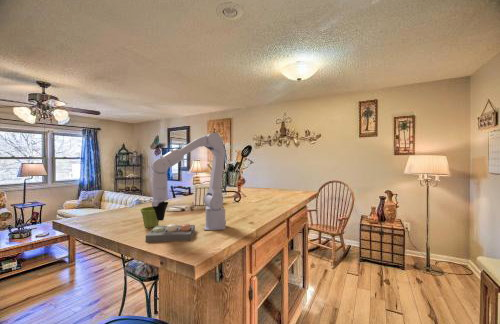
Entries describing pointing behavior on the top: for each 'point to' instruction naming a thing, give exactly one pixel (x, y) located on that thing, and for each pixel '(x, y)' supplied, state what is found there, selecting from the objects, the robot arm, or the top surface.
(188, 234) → the button box
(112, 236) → the top surface
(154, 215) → the plant pot
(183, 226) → the button terracotta
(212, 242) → the top surface
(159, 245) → the top surface
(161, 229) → the button sage
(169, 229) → the button ivory
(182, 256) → the top surface
